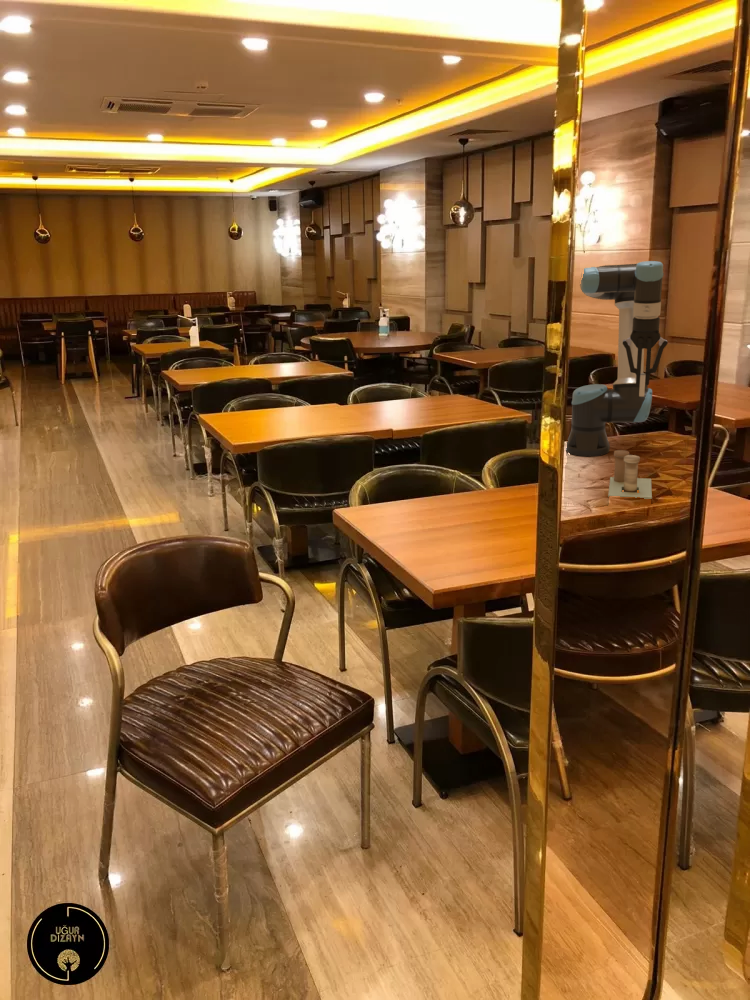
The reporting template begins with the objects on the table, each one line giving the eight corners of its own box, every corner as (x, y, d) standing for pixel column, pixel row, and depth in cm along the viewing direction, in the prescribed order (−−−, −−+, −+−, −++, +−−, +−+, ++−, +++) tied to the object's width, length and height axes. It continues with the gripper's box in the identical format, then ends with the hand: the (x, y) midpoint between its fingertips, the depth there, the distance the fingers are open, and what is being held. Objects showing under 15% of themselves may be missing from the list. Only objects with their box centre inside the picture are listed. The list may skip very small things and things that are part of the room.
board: (609, 489, 253) (611, 449, 249) (650, 491, 250) (652, 450, 245) (607, 508, 238) (609, 465, 234) (651, 510, 235) (653, 467, 230)
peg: (622, 499, 244) (624, 454, 239) (637, 500, 243) (639, 455, 238) (621, 504, 240) (623, 459, 235) (637, 505, 239) (639, 459, 234)
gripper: (622, 319, 237) (618, 398, 245) (670, 318, 233) (664, 398, 242) (623, 314, 243) (619, 391, 252) (669, 314, 239) (664, 392, 248)
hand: (641, 395), depth 247 cm, fingers closed
